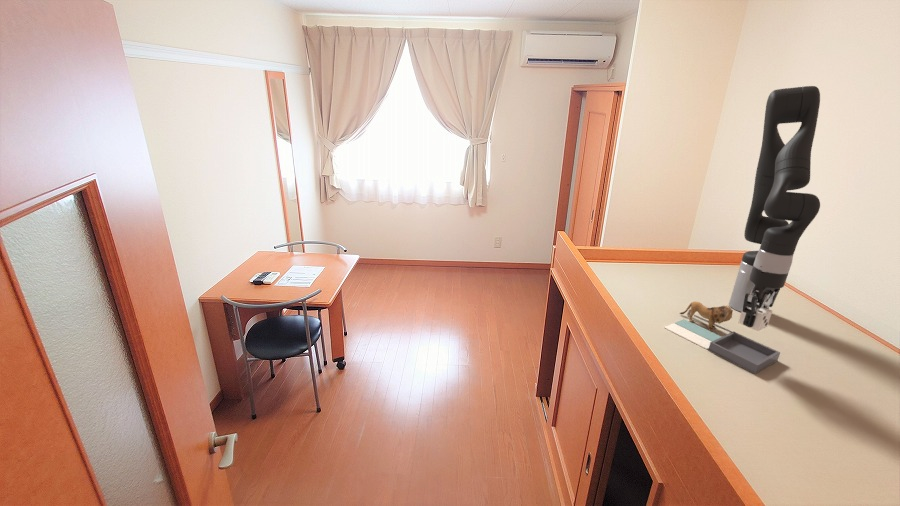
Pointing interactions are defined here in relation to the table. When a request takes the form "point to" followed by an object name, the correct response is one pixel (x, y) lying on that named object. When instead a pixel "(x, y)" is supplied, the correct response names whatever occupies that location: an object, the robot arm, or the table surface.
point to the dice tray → (744, 352)
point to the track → (694, 332)
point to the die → (758, 319)
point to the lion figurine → (710, 313)
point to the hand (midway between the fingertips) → (752, 323)
